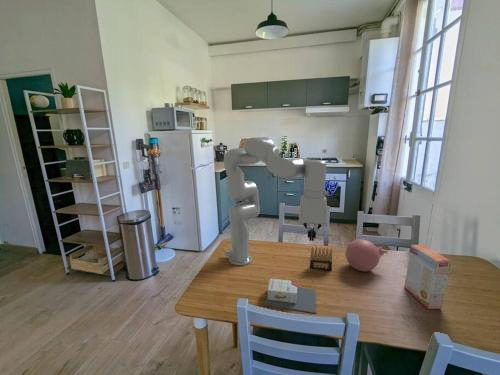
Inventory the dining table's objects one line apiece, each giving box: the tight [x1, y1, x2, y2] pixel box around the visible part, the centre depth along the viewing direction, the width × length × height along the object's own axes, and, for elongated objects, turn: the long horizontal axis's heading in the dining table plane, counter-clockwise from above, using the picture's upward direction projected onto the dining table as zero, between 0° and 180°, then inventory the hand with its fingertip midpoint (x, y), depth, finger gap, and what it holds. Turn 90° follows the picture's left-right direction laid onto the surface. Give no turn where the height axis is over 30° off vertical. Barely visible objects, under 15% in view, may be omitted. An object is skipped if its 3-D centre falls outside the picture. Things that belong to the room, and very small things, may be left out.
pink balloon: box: [345, 238, 388, 272], centre depth 120 cm, size 15×20×15 cm
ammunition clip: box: [309, 246, 333, 272], centre depth 120 cm, size 11×2×12 cm, turn 79°
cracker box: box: [404, 244, 452, 310], centre depth 98 cm, size 14×6×21 cm, turn 2°
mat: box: [264, 286, 317, 314], centre depth 101 cm, size 20×14×1 cm
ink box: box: [267, 278, 298, 303], centre depth 101 cm, size 9×5×12 cm
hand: (311, 239), depth 93 cm, fingers closed
